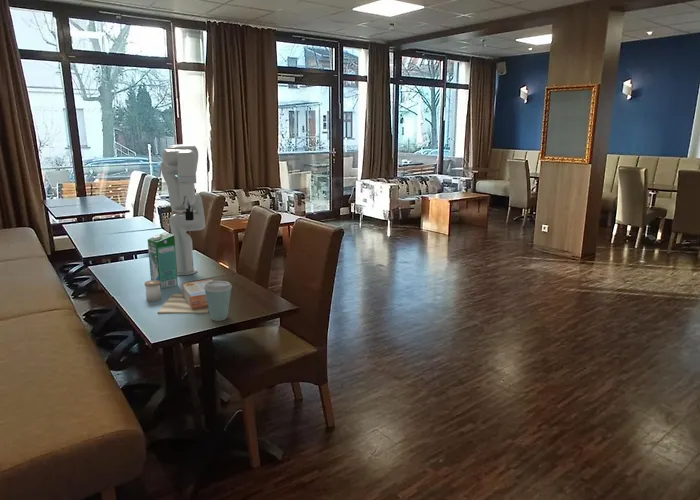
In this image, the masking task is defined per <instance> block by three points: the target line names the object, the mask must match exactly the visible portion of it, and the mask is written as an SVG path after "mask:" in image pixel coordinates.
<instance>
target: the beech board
mask: <svg viewBox="0 0 700 500" xmlns="http://www.w3.org/2000/svg"><path fill="white" fill-rule="evenodd" d="M205 313H206V314H208V313H209V308H208V306H205V307H200V308H194V309H192V308H191V306H190V305H189V304H188V302H187V301H186V299H185V298H184V296H183V295H182V293H172V295H171V296H170V297H169V298H168V299H167V301H166V302H165V303H164V304H163V305H162V306H161V308H159V310H158V311H157V314H205Z"/></svg>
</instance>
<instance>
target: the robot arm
mask: <svg viewBox="0 0 700 500" xmlns="http://www.w3.org/2000/svg"><path fill="white" fill-rule="evenodd" d="M161 157H162V161H161V162H160V170H161V175H162V177H163V180H164V182H165V184H166V185H167V191H168V198H169V205H170V209H171V210H172V211H174V212H176V213H173V214H171V215H170V217H169V218H168V219H169V221H168V222H169V227H170V230H171V231H170V232H171V234H172V235H174V238H175V252H176V266H177V276H190V275H193V274H196V273H197V272H198V269H197V268H196V267H194V265H195V264H194V252H193V239H192V237H191V235H190V234H188V233H187V232H191V231H202V230H204V229H205V227H206V217H205V209H204V204H203V199H202V196H201V195H200V193H197V192H196V189H195V188H196V187H195V184H197V171H198V163H199V150H198V148H197V147H196V145H194V144H172V145H171V146H169V147H166V148H164V149H163V151H162V156H161Z"/></svg>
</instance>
